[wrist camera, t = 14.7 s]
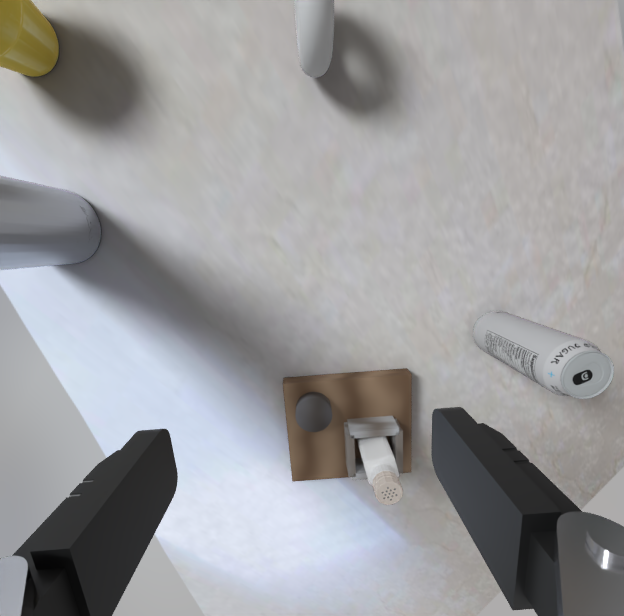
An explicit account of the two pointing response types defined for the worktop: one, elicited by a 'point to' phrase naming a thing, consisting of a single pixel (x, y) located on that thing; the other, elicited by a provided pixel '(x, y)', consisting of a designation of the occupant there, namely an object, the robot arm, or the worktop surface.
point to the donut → (314, 35)
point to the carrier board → (346, 421)
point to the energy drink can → (545, 354)
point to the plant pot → (26, 39)
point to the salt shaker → (381, 469)
